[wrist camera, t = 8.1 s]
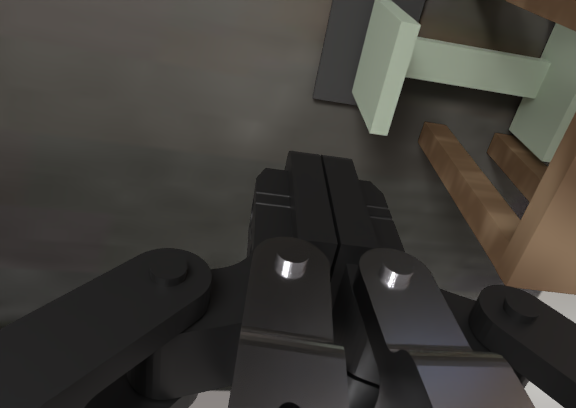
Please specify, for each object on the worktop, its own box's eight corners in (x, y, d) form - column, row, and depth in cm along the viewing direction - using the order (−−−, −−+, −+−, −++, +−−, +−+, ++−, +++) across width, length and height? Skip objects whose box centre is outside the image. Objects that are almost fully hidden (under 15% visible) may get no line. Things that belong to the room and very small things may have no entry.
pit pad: (338, -30, 30) (339, -29, 29) (427, -13, 30) (428, -12, 30) (312, 96, 34) (313, 98, 34) (390, 108, 35) (391, 110, 34)
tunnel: (481, -44, 30) (655, 5, 16) (586, -22, 30) (834, 40, 17) (417, 142, 36) (505, 286, 23) (506, 155, 37) (641, 302, 24)
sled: (378, -23, 30) (407, -1, 24) (683, 36, 32) (781, 69, 26) (346, 104, 34) (364, 150, 28) (619, 146, 36) (690, 197, 30)
